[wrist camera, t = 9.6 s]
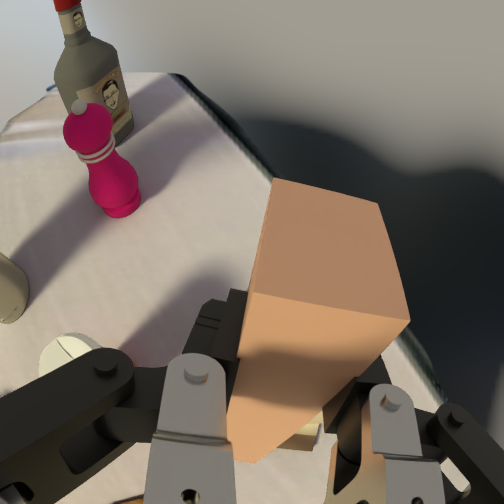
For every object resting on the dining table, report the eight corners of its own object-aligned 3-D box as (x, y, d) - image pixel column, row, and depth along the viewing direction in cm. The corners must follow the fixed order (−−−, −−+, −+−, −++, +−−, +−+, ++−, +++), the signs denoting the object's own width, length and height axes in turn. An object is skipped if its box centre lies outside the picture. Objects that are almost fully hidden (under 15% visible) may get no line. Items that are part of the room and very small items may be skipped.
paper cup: (155, 359, 35) (117, 348, 22) (140, 415, 32) (96, 432, 19) (101, 339, 35) (45, 317, 22) (86, 393, 32) (25, 394, 19)
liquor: (77, 142, 48) (22, 7, 20) (108, 111, 51) (72, -21, 24) (109, 156, 46) (55, 0, 19) (141, 122, 50) (111, -27, 22)
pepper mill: (106, 181, 44) (62, 85, 26) (148, 181, 45) (117, 77, 27) (95, 221, 42) (36, 129, 23) (139, 222, 42) (95, 120, 24)
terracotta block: (254, 463, 17) (410, 320, 5) (210, 455, 17) (253, 292, 5) (262, 413, 20) (377, 203, 8) (221, 405, 20) (273, 177, 8)
